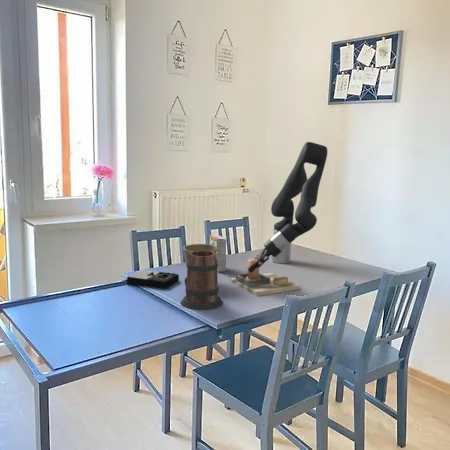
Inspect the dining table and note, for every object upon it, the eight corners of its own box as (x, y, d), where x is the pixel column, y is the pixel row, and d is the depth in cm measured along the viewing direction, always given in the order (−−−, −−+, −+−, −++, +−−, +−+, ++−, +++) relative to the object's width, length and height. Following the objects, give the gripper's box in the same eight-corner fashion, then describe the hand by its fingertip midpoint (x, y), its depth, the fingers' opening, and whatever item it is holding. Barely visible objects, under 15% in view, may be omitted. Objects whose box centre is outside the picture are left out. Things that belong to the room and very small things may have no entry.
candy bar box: (208, 266, 235) (209, 234, 232) (217, 265, 237) (218, 234, 234) (216, 272, 225) (216, 239, 222) (226, 271, 226) (226, 238, 223)
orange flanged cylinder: (243, 281, 207) (243, 259, 205) (255, 279, 210) (256, 257, 208) (250, 285, 201) (251, 262, 199) (263, 283, 204) (263, 260, 202)
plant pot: (179, 279, 213) (179, 245, 210) (210, 276, 218) (210, 243, 215) (188, 288, 199) (188, 252, 196) (221, 285, 204) (221, 250, 202)
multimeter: (165, 290, 198) (165, 279, 197) (126, 284, 205) (126, 273, 204) (179, 281, 210) (179, 271, 209) (141, 276, 217) (141, 266, 216)
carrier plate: (230, 281, 211) (230, 273, 210) (271, 275, 221) (271, 267, 220) (256, 296, 192) (257, 286, 191) (299, 288, 202) (300, 279, 201)
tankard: (231, 306, 179) (232, 255, 175) (190, 313, 171) (190, 260, 168) (205, 289, 199) (205, 243, 196) (168, 294, 192) (167, 246, 188)
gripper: (271, 234, 208) (245, 258, 211) (271, 241, 194) (242, 266, 197) (283, 246, 208) (256, 270, 212) (283, 254, 194) (255, 279, 198)
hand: (250, 268), depth 204 cm, fingers open, 8 cm apart
